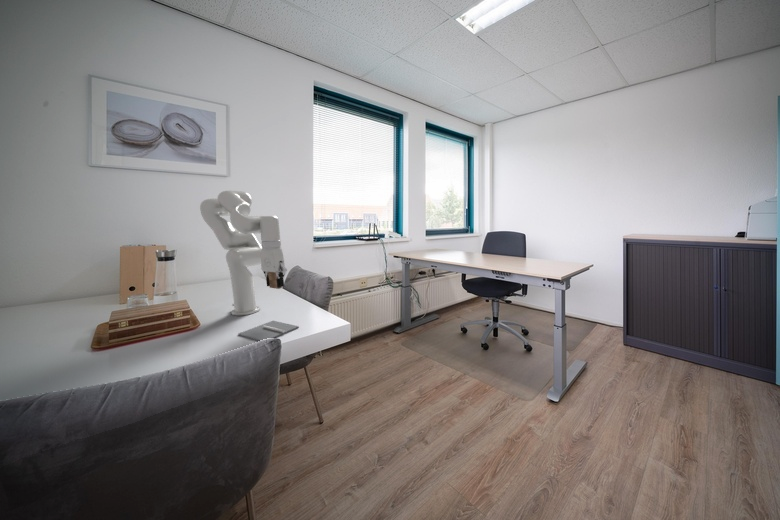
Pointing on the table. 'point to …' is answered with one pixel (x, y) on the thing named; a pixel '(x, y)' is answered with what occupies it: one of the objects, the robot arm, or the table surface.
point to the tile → (273, 280)
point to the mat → (268, 330)
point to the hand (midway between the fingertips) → (275, 285)
